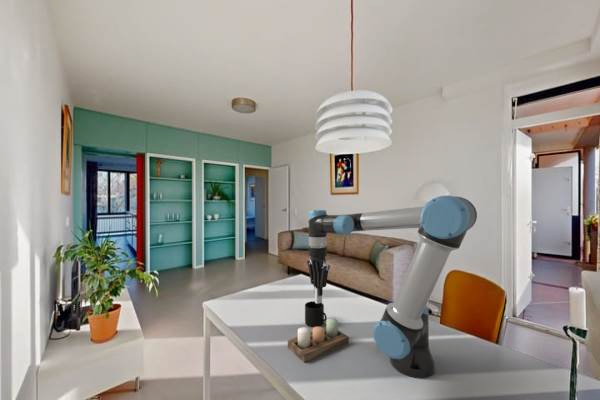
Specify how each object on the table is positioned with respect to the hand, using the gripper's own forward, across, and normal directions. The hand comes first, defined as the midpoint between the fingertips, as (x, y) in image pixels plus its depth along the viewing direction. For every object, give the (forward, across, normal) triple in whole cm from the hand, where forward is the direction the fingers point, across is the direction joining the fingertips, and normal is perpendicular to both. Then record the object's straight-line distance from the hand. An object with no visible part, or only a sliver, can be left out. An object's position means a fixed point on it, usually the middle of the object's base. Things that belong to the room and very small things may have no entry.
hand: (318, 302), depth 107 cm
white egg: (+16, 0, +7) cm, 17 cm away
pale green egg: (+16, 0, -8) cm, 17 cm away
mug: (+18, +16, -11) cm, 27 cm away
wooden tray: (+18, 0, 0) cm, 18 cm away
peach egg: (+17, 0, 0) cm, 17 cm away
